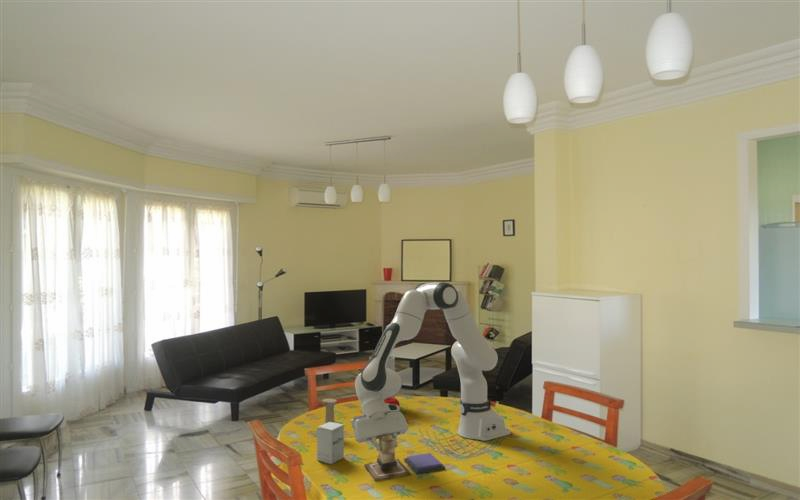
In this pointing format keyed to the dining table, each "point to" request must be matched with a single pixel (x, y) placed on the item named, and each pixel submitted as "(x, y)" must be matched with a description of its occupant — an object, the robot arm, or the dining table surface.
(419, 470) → the ink pad
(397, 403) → the apple
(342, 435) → the supplement box
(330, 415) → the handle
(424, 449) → the dining table surface
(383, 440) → the wooden stamp
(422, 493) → the dining table surface
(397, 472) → the marked board
